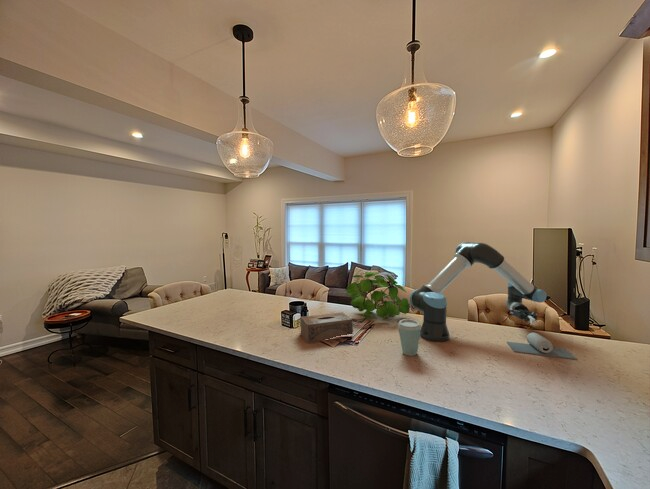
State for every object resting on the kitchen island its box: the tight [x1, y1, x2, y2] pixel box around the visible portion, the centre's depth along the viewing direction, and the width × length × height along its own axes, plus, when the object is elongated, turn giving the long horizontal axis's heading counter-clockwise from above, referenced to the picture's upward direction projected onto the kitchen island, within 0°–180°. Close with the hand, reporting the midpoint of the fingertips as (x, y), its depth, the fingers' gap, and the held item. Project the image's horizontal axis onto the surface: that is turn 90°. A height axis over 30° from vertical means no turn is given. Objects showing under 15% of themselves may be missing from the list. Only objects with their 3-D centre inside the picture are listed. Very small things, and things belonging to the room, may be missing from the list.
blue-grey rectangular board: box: [506, 341, 578, 360], centre depth 130 cm, size 24×12×1 cm, turn 69°
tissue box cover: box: [300, 311, 354, 344], centre depth 151 cm, size 26×14×10 cm, turn 110°
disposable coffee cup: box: [397, 318, 422, 357], centre depth 128 cm, size 11×11×15 cm
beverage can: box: [526, 332, 554, 353], centre depth 131 cm, size 6×6×12 cm
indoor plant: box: [345, 271, 410, 319], centre depth 189 cm, size 44×42×30 cm
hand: (533, 322), depth 139 cm, fingers closed
